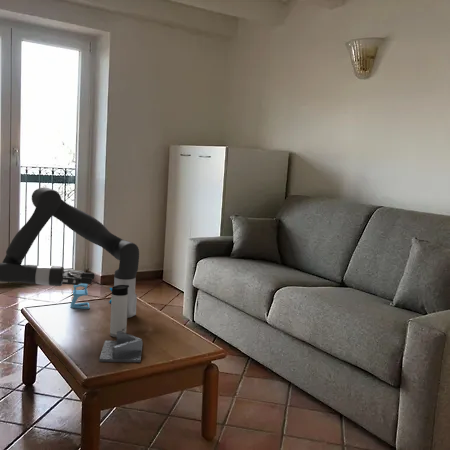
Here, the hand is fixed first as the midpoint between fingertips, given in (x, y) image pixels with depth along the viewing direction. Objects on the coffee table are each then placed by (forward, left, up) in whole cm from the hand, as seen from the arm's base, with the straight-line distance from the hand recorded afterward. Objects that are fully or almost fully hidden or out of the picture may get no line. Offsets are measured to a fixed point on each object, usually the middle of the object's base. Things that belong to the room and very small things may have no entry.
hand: (93, 278), depth 200 cm
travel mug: (-8, +7, -23) cm, 25 cm away
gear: (-35, -30, -23) cm, 51 cm away
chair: (-17, -34, -23) cm, 44 cm away
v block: (+3, +22, -22) cm, 31 cm away
